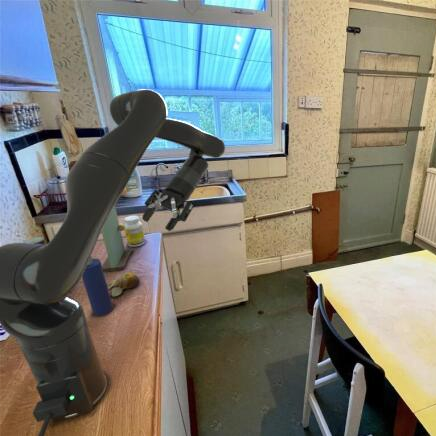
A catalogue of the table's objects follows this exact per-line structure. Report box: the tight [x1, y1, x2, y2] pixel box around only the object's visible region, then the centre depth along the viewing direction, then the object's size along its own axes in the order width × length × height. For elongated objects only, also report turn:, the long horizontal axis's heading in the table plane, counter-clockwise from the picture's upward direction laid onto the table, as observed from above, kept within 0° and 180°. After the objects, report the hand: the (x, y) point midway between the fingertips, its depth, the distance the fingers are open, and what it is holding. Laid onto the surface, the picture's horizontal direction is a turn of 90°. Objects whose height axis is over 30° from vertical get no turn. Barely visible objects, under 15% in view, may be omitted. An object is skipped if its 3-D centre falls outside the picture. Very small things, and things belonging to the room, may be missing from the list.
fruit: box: [107, 272, 140, 297], centre depth 87 cm, size 8×8×4 cm
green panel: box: [101, 185, 132, 273], centre depth 95 cm, size 11×12×30 cm
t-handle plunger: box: [81, 256, 114, 317], centre depth 74 cm, size 8×5×22 cm, turn 15°
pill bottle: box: [123, 215, 146, 248], centre depth 111 cm, size 6×6×11 cm
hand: (155, 225), depth 87 cm, fingers open, 8 cm apart
